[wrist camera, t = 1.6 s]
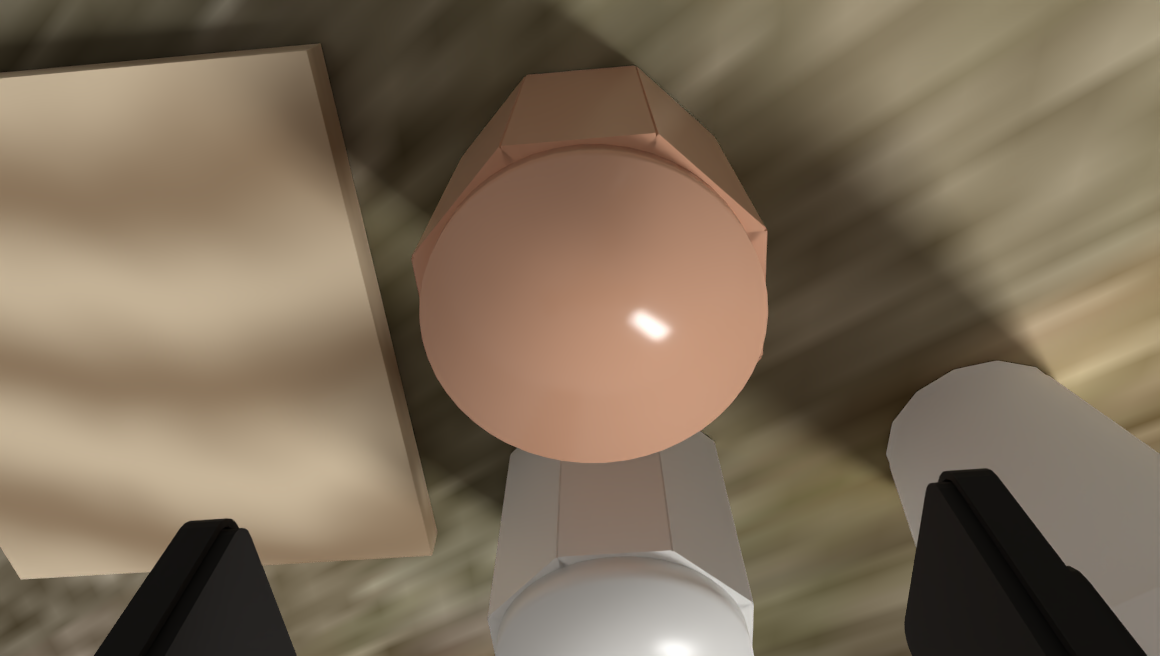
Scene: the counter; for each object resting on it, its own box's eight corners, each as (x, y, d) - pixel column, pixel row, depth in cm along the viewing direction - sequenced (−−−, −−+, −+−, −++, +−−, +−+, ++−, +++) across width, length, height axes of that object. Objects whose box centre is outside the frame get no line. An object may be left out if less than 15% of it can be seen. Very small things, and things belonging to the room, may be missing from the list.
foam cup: (806, 513, 29) (951, 909, 17) (900, 300, 24) (1179, 644, 13) (1038, 548, 29) (1323, 949, 18) (1171, 348, 25) (1657, 711, 14)
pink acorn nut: (448, 81, 21) (379, 167, 14) (714, 58, 21) (780, 133, 14) (486, 315, 25) (447, 476, 18) (714, 298, 24) (766, 455, 17)
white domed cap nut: (501, 405, 26) (471, 585, 19) (714, 391, 26) (761, 568, 19) (527, 559, 30) (509, 757, 23) (714, 548, 30) (754, 745, 23)
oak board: (-234, 94, 21) (-277, 103, 20) (320, 43, 21) (306, 50, 20) (40, 555, 30) (20, 579, 29) (437, 532, 29) (431, 555, 28)
